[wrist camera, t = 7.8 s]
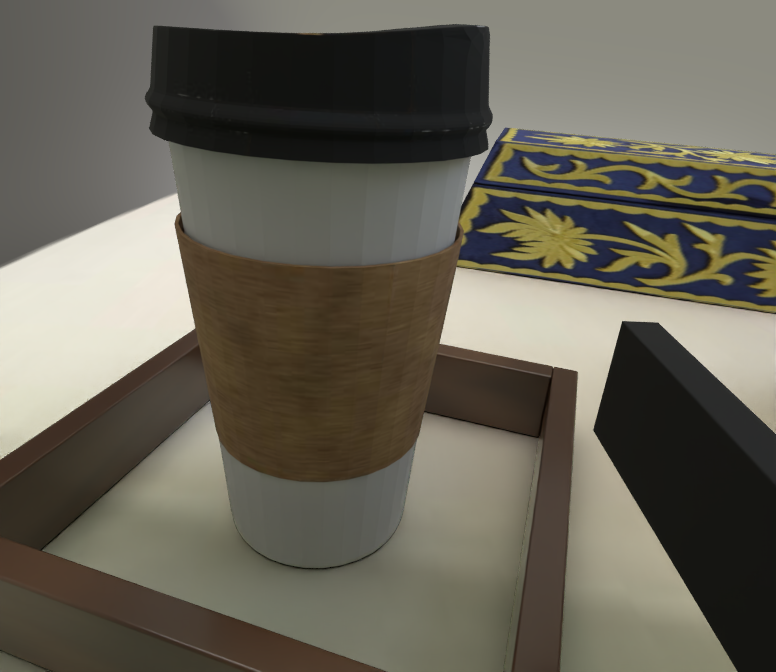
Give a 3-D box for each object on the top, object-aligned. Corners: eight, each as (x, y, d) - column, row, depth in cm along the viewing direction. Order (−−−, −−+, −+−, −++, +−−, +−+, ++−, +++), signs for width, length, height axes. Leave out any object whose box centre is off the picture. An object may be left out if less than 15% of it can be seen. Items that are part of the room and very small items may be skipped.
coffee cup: (466, 594, 18) (565, 25, 11) (170, 615, 16) (76, -13, 10) (416, 428, 25) (457, 30, 18) (210, 434, 24) (173, 9, 17)
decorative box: (452, 226, 54) (464, 122, 50) (817, 275, 48) (865, 161, 44) (429, 262, 44) (441, 137, 40) (881, 329, 38) (949, 190, 34)
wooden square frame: (564, 430, 26) (578, 370, 24) (525, 868, 12) (554, 784, 10) (236, 356, 29) (233, 301, 28) (-79, 619, 16) (-115, 535, 14)
